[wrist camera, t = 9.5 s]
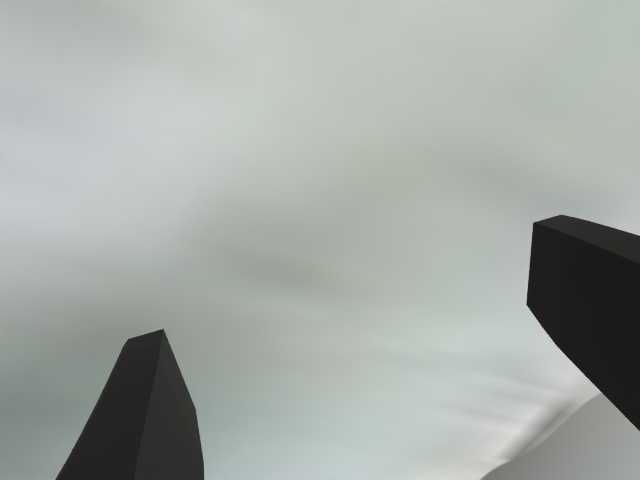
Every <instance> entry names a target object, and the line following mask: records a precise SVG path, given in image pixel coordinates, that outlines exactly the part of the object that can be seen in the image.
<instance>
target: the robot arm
mask: <svg viewBox="0 0 640 480" xmlns="http://www.w3.org/2000/svg"><path fill="white" fill-rule="evenodd" d="M526 305H527V306H528V307H529V309H530V310H531V312H532V313H533V314H534V316H535V317H536V319H537V320H538V322H539V323H540V324H541V326H542V327H543V328H544V330H545V331H546V332H547V334H548V335H549V336H550V338H551V339H552V340H553V341H554V343H555V344H556V345H557V346H558V347H559V349H560V350H561V351H562V352H563V353H564V354H565V355H566V356H567V357H568V358H569V359H570V360H571V361H572V362H573V363H574V364H575V365H576V366H577V367H578V368H579V370H580V371H581V372H582V373H583V374H584V375H585V376H586V377H587V378H588V379H589V380H590V381H591V382H592V383H593V384H594V385H595V386H596V387H597V388H598V389H599V390H600V391H601V392H602V393H603V394H604V395H605V396H606V397H607V398H608V399H609V400H610V401H611V402H612V403H613V404H614V405H615V406H616V407H617V408H618V409H619V410H620V411H621V412H622V413H623V414H624V415H625V417H626V418H627V419H628V420H629V421H630V422H631V423H632V424H633V425H634V426H635V427H636V428H637V429H638V430H639V431H640V236H638V235H635V234H632V233H628V232H625V231H622V230H618V229H615V228H611V227H608V226H604V225H601V224H597V223H594V222H590V221H586V220H582V219H578V218H574V217H569V216H565V215H559V216H555V217H552V218H548V219H545V220H541V221H538V222H534V223H533V233H532V245H531V257H530V269H529V281H528V292H527V304H526ZM56 480H204V463H203V455H202V449H201V442H200V435H199V429H198V422H197V416H196V410H195V407H194V404H193V402H192V399H191V397H190V394H189V392H188V389H187V387H186V384H185V382H184V379H183V377H182V374H181V372H180V369H179V367H178V364H177V362H176V359H175V357H174V354H173V352H172V349H171V347H170V344H169V342H168V339H167V337H166V334H165V332H164V329H162V330H158V331H155V332H151V333H148V334H144V335H141V336H137V337H134V338H130V339H128V340H127V342H126V343H125V345H124V346H123V348H122V351H121V353H120V355H119V357H118V359H117V361H116V364H115V366H114V368H113V370H112V372H111V374H110V377H109V379H108V381H107V383H106V385H105V387H104V389H103V391H102V393H101V395H100V398H99V400H98V402H97V404H96V406H95V408H94V410H93V412H92V414H91V415H90V417H89V419H88V421H87V423H86V425H85V427H84V429H83V431H82V433H81V435H80V437H79V439H78V441H77V443H76V444H75V446H74V448H73V450H72V452H71V454H70V455H69V457H68V459H67V461H66V462H65V464H64V466H63V468H62V469H61V471H60V473H59V475H58V476H57V478H56Z"/></svg>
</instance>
